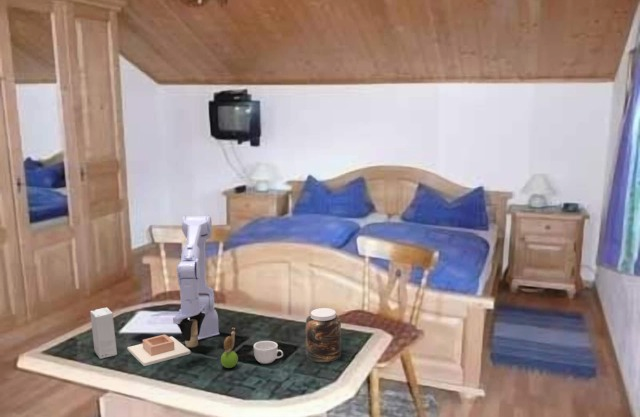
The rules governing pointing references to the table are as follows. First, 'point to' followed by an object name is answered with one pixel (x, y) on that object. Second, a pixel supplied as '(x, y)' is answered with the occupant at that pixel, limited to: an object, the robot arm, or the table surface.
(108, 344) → the skincare box
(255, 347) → the teacup
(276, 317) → the table surface
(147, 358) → the socket board
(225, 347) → the snail figurine
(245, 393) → the table surface
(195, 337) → the maple peg
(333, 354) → the jar
